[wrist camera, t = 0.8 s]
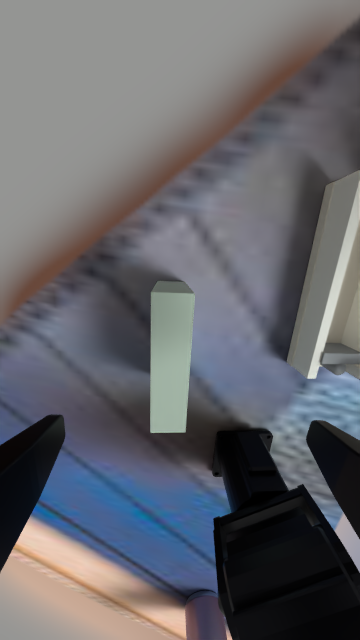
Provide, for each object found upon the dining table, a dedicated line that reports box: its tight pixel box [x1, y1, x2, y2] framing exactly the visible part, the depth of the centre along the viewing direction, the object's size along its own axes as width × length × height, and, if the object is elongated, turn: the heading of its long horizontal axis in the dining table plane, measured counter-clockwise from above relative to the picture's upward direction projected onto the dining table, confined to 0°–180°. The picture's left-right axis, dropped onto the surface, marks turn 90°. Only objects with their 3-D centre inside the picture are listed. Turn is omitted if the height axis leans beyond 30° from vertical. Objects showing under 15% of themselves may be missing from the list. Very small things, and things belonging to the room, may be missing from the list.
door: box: [150, 281, 195, 433], centre depth 15 cm, size 10×2×7 cm, turn 177°
